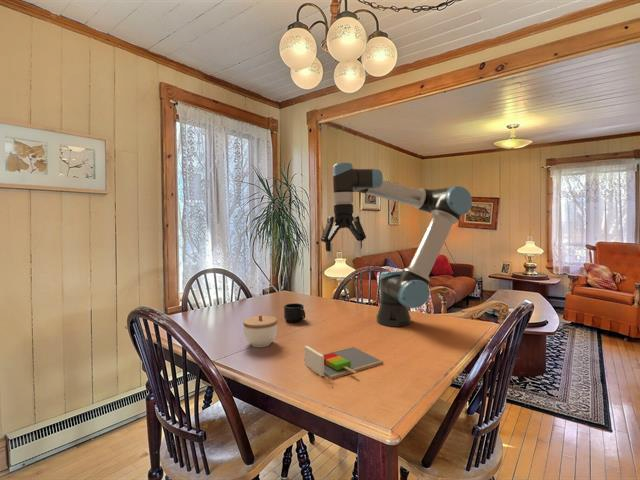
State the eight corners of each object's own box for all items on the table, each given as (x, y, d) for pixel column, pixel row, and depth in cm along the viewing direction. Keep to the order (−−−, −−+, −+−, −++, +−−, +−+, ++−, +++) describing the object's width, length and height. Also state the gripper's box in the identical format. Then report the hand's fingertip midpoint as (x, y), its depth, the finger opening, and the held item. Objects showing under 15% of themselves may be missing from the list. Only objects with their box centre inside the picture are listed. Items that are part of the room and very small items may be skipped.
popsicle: (333, 357, 116) (333, 352, 116) (363, 373, 103) (362, 367, 103) (319, 361, 113) (319, 355, 113) (348, 378, 100) (348, 372, 100)
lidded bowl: (241, 340, 135) (241, 312, 135) (273, 336, 140) (273, 309, 139) (246, 352, 124) (245, 321, 123) (281, 347, 128) (280, 317, 127)
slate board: (352, 348, 126) (352, 346, 126) (382, 363, 112) (382, 361, 112) (304, 360, 115) (304, 358, 115) (331, 378, 102) (331, 376, 102)
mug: (280, 320, 162) (280, 305, 162) (294, 316, 168) (294, 302, 168) (297, 326, 154) (297, 310, 153) (312, 321, 160) (312, 306, 160)
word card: (308, 363, 113) (307, 345, 112) (324, 375, 104) (324, 355, 104) (304, 364, 112) (304, 346, 112) (321, 376, 103) (321, 356, 103)
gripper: (362, 204, 145) (363, 255, 146) (310, 204, 131) (312, 260, 132) (374, 203, 138) (375, 256, 140) (321, 203, 125) (323, 262, 126)
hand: (344, 258), depth 136 cm, fingers open, 13 cm apart
